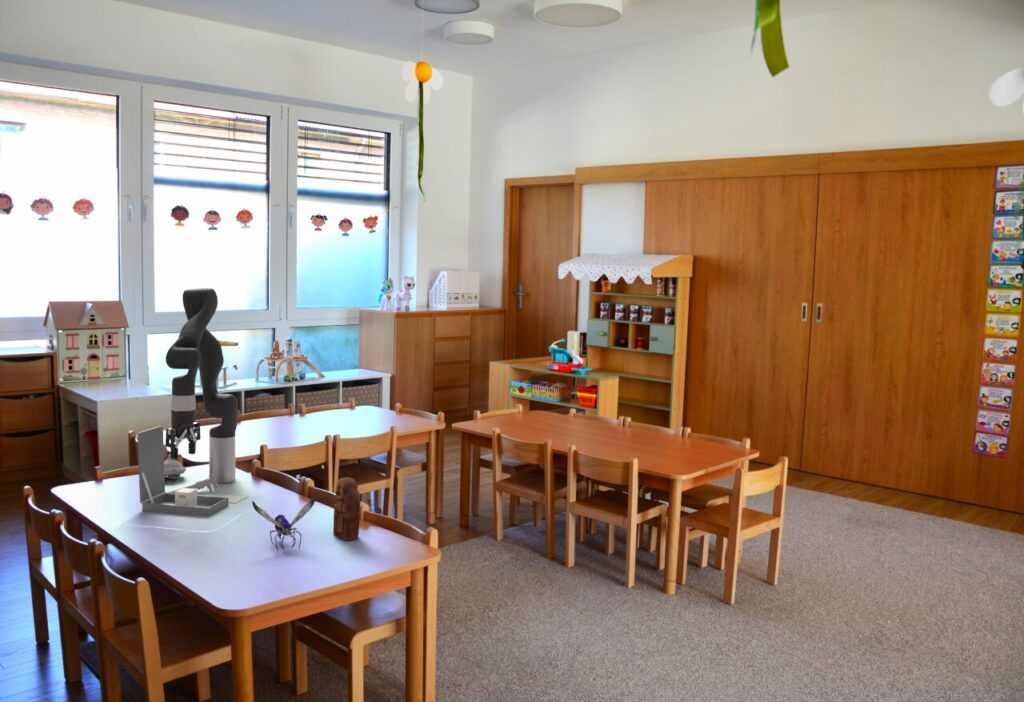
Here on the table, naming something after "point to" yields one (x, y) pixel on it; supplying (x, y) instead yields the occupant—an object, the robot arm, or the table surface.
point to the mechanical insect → (285, 521)
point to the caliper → (202, 484)
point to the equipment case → (154, 480)
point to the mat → (234, 498)
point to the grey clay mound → (173, 468)
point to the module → (186, 497)
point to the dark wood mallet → (346, 509)
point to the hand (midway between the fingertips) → (183, 456)
